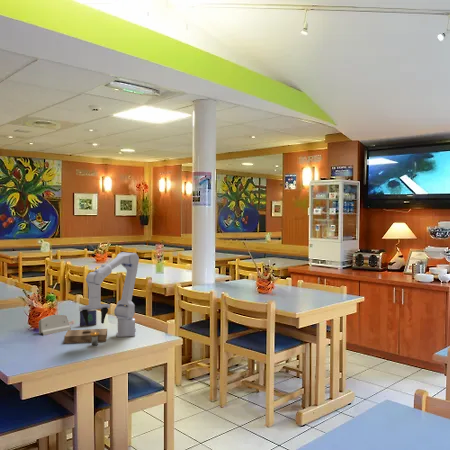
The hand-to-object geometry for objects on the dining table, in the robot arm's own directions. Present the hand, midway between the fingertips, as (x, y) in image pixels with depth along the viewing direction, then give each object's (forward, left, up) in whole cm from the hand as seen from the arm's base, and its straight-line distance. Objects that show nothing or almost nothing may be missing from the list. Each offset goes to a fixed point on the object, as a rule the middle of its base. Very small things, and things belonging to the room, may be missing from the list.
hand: (94, 324), depth 224 cm
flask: (+7, -40, -11) cm, 42 cm away
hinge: (+24, -30, -11) cm, 40 cm away
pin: (0, 0, -10) cm, 10 cm away
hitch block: (+5, -11, -10) cm, 16 cm away
